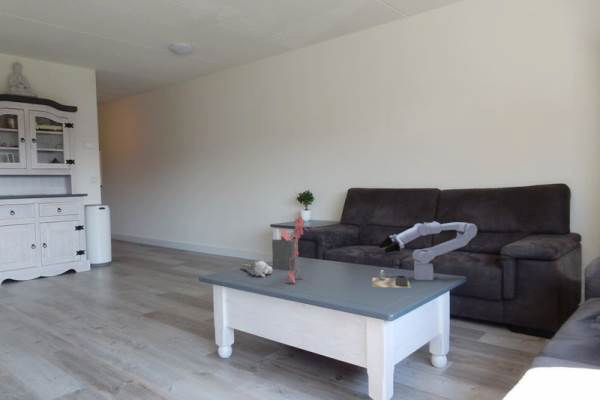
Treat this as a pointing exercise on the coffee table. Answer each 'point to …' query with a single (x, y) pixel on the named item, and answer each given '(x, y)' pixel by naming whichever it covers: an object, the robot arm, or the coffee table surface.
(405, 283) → the ring
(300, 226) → the figurine
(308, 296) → the coffee table surface
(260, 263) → the white lumpy shape
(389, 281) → the board
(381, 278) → the post
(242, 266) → the wrench
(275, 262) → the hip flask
